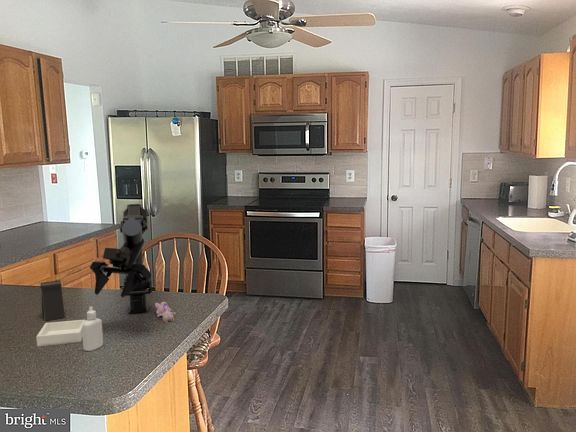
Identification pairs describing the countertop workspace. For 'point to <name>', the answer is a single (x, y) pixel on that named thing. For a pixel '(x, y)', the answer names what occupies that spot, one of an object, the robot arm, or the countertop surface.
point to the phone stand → (52, 300)
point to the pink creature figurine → (164, 312)
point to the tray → (60, 333)
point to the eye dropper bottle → (92, 331)
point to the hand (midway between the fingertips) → (108, 295)
